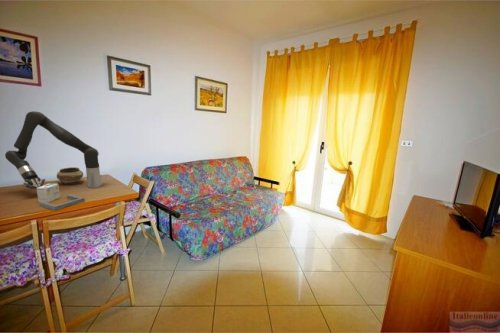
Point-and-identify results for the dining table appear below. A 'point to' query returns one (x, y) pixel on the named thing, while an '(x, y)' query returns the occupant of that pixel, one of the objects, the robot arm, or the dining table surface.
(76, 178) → the ceramic bowl
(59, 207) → the charcoal bay
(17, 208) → the dining table surface
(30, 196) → the dining table surface
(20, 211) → the dining table surface
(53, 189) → the light bulb box
